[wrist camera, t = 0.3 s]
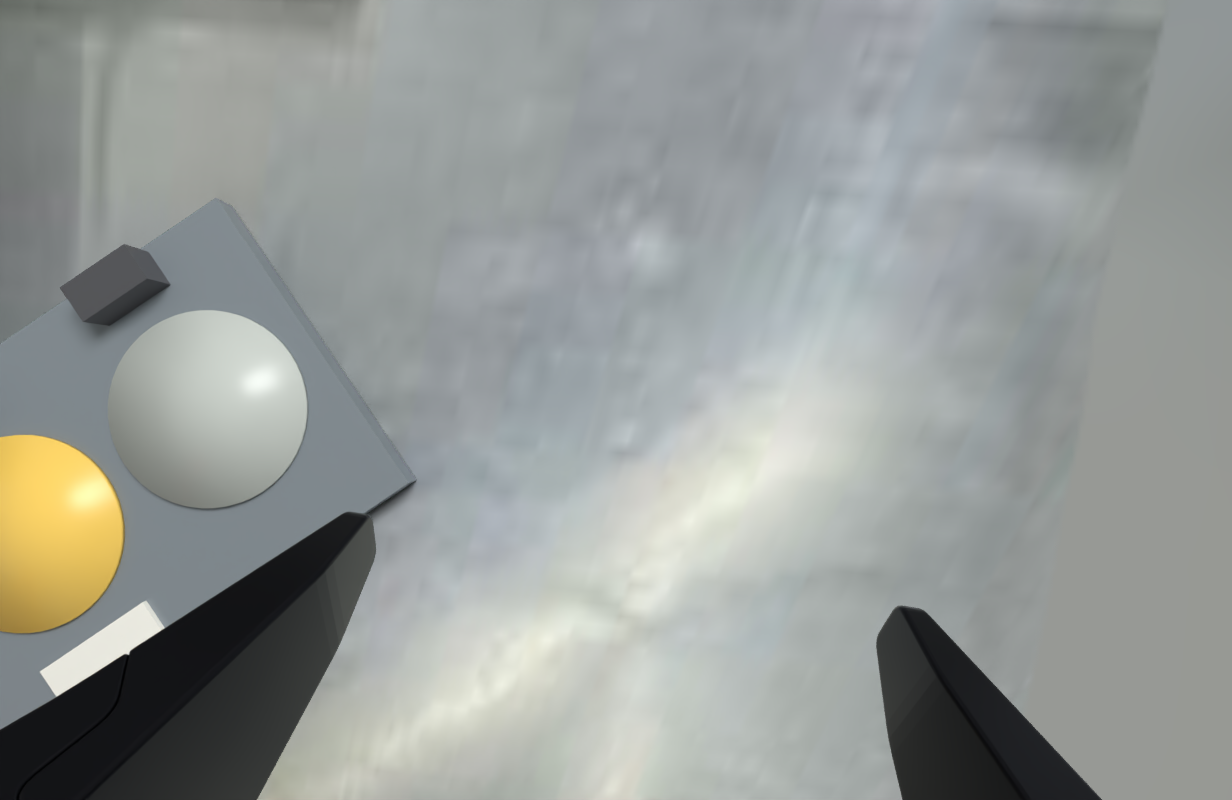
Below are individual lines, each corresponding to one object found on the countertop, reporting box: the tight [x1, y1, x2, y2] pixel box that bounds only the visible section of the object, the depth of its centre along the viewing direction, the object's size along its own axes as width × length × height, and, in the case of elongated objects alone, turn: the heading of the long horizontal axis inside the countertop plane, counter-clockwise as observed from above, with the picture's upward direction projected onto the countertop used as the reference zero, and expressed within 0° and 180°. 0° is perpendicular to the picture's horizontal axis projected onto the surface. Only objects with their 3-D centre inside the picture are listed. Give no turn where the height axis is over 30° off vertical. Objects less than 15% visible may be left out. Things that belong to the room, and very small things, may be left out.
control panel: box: [0, 198, 417, 729], centre depth 24 cm, size 28×14×2 cm, turn 124°
